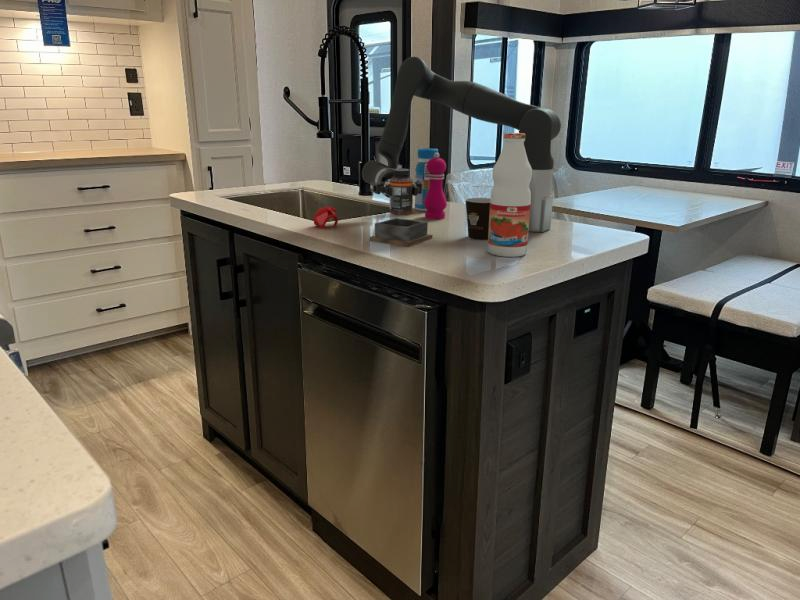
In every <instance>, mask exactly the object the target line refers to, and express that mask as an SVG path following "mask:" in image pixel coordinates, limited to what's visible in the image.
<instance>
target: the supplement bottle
mask: <svg viewBox="0 0 800 600" xmlns="http://www.w3.org/2000/svg"><path fill="white" fill-rule="evenodd" d="M413 184H414V181H413V178H412V177H410V169H409V168H397V169H394V176H393V177H392V178H391V179H390V186H391V187H392V196H390V198H389V203H388V204H389V213H390V214H391V215H395V216H408V215H411V214H412V213H413V200H414V199H413V197H414V195H413Z"/></svg>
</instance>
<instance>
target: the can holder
mask: <svg viewBox="0 0 800 600" xmlns="http://www.w3.org/2000/svg"><path fill="white" fill-rule="evenodd" d="M428 223H429V222H428V221H425V220H424V221H423V220H414V219H407V218H398V217H394V218H391V219H387V220H384V221H379V222H376V223H374V235H372V236H369V241H370V242H374V243H381V244H388V245H396V246H399V247H400V246H402V247H408V248H409V247H412V246H414V245H418V244H420V243H421V244H422V243H423V242H426V241H430V240H432V239H433V234H431V233H430V234H428V227H429V226H428V225H429V224H428Z"/></svg>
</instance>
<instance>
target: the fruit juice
mask: <svg viewBox="0 0 800 600" xmlns="http://www.w3.org/2000/svg"><path fill="white" fill-rule="evenodd" d="M525 138H526V137H525V134H524V133H519V132H504V133H503V141H504V144H503V146H502V149H501V151H500V154H499V157H498V159H497V161H496V163H495V164H494V166H493V168H492V172H491V173H492V180H493V187H492V189H491V192H490V215H489V233H488V240H487V251H488V254H490V255H492V256H493V255H494V256H497V257H505V258H513V257H514V258H516V257H522V256H524V255H526V254H527V252H528V243H529V242H528V241H529V231H528V230H529V217H530V204H531V192H530V189H529V183H530V181H531V177H532V168H531V166H530V164H529V161H528V158H527V155H526V151H525V147H524V141H525Z"/></svg>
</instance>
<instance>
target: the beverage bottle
mask: <svg viewBox="0 0 800 600" xmlns="http://www.w3.org/2000/svg"><path fill="white" fill-rule="evenodd" d="M435 153H439V149H438V148H430V147H429V148H428V147H425V148H424V147H423V148H422V147H421V148H420V147H419V148H418V149H417V160H418V161H417V164H416V166H415V169H414V171H415V176H414V183H415V182H416V181H420V182H421V183H422V193H421V194H417V196H414V210H416V211H419V212H421V211H422V212H426V211H427V209H426V208H425V207H424V200H425V197H426V195H427V193H428V190H429V185H430V182H429V179H428V174H429V172H428V170H427V163H428V161H429V160H430V159H432V158H435V157H434V154H435Z"/></svg>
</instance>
